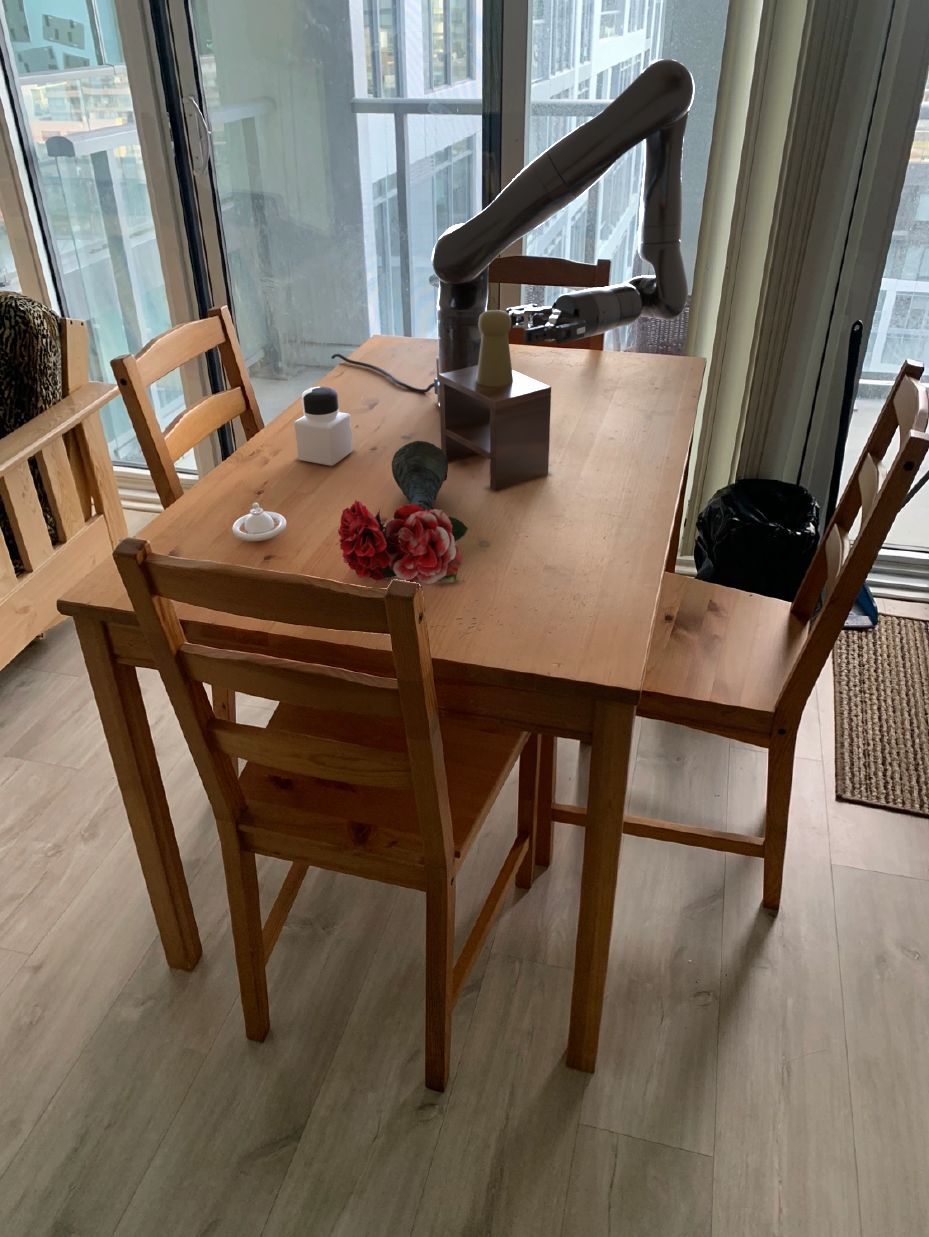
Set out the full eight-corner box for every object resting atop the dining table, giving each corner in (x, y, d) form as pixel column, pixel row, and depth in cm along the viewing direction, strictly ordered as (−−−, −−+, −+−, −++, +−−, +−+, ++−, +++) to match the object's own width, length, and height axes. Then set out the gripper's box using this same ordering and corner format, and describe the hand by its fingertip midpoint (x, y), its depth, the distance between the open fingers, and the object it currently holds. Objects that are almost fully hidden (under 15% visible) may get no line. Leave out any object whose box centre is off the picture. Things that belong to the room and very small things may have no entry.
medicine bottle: (353, 451, 167) (347, 386, 160) (332, 467, 162) (325, 400, 155) (319, 445, 170) (312, 381, 163) (297, 460, 164) (289, 394, 158)
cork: (474, 375, 155) (473, 307, 149) (510, 373, 155) (511, 305, 149) (478, 387, 150) (477, 317, 143) (515, 385, 150) (516, 316, 144)
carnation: (414, 536, 156) (420, 646, 126) (323, 471, 149) (306, 571, 119) (474, 466, 151) (496, 563, 120) (383, 395, 144) (382, 480, 114)
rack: (441, 459, 164) (438, 374, 155) (492, 444, 169) (492, 361, 160) (495, 491, 152) (496, 401, 144) (548, 474, 158) (551, 386, 149)
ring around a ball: (298, 536, 140) (269, 518, 145) (293, 502, 137) (263, 485, 142) (253, 556, 136) (224, 537, 141) (246, 521, 133) (217, 503, 138)
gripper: (560, 282, 160) (482, 297, 152) (616, 299, 150) (537, 317, 143) (558, 326, 164) (483, 343, 157) (613, 346, 154) (536, 365, 147)
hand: (509, 331), depth 150 cm, fingers open, 8 cm apart
